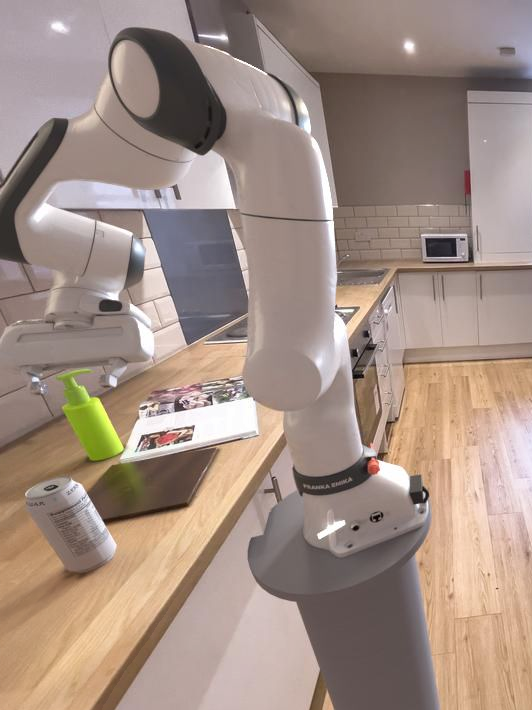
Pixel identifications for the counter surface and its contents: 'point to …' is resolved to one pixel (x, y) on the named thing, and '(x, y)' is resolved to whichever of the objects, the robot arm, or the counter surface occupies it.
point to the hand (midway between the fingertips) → (72, 390)
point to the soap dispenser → (89, 419)
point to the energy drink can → (70, 524)
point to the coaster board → (150, 484)
